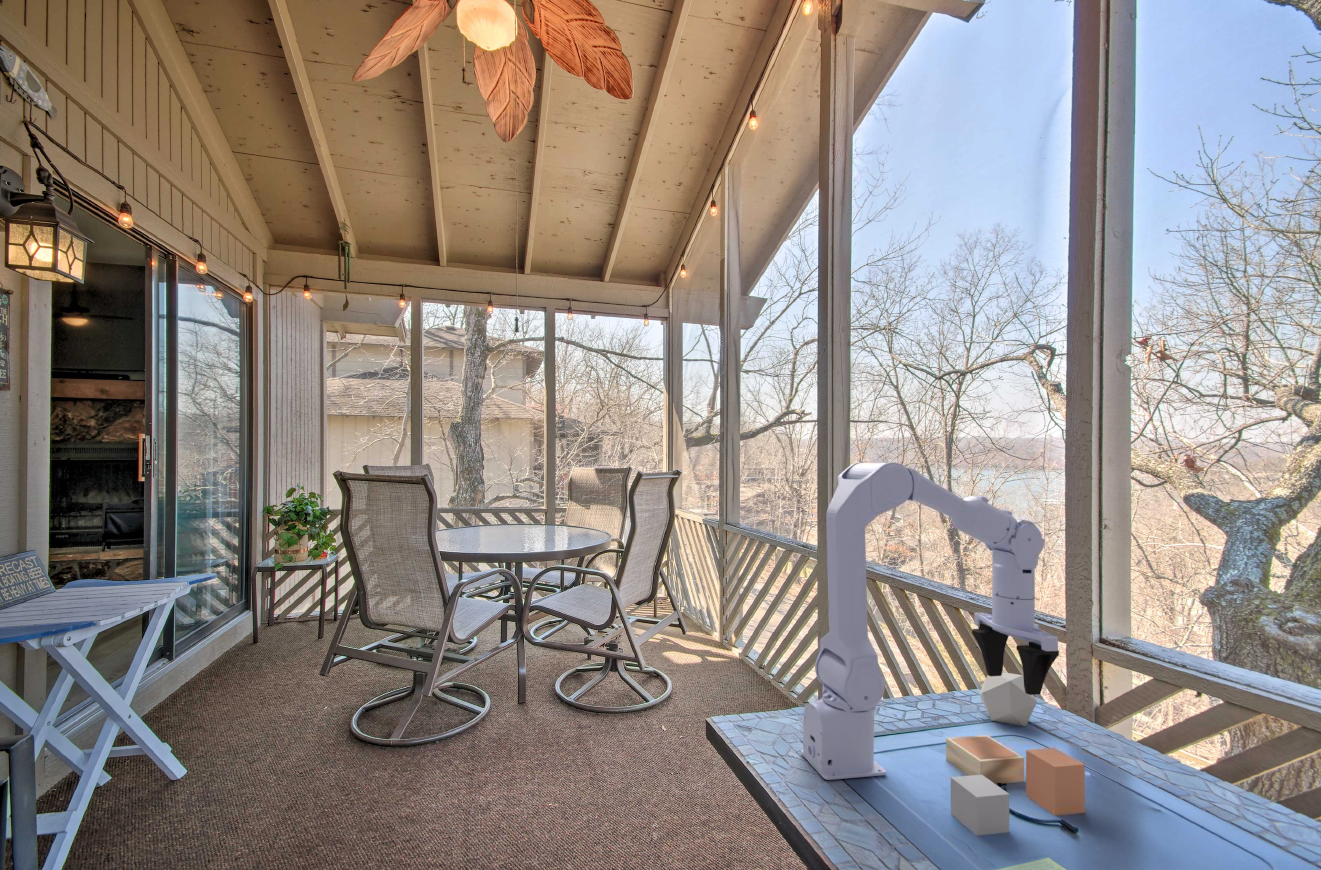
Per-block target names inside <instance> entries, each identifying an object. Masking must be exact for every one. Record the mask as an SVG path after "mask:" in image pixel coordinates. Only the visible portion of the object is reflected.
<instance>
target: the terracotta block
mask: <svg viewBox="0 0 1321 870" xmlns="http://www.w3.org/2000/svg"><path fill="white" fill-rule="evenodd" d="M1025 756H1026V757H1025V797H1027V798H1029V799H1030V801H1031V800H1032V801H1033V802H1034V803H1035V804H1036V805H1038V806H1040V807H1042V808H1043V809H1045V810H1046V811H1047V812H1049V813H1050V814H1052V816H1065V815H1075V814H1085V812H1086V804H1085V803H1086V801H1085V800H1086V793H1085V792H1086V791H1085V790H1086V789H1085V788H1086V783H1085V781H1086V780H1085V779H1086V778H1085V777H1086V776H1085V771H1086V770H1085V767H1086V764H1085V763H1083V762H1081V761H1080V760H1077V759H1076V758H1074V757H1072V756H1070V755H1068V754H1066V753H1065V752H1063V751H1061V750H1059V749H1058V748H1056V747H1049V748H1048V747H1046V748H1036V749H1034V748H1033V749H1026V750H1025Z"/></svg>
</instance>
